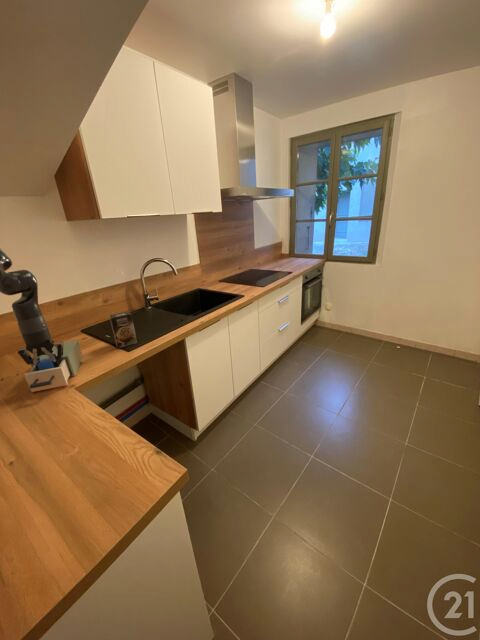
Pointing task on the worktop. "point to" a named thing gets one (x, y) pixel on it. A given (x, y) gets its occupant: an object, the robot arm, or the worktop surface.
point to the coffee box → (123, 329)
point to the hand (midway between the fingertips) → (49, 370)
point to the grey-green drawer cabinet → (69, 356)
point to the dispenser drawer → (48, 377)
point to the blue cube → (45, 364)
